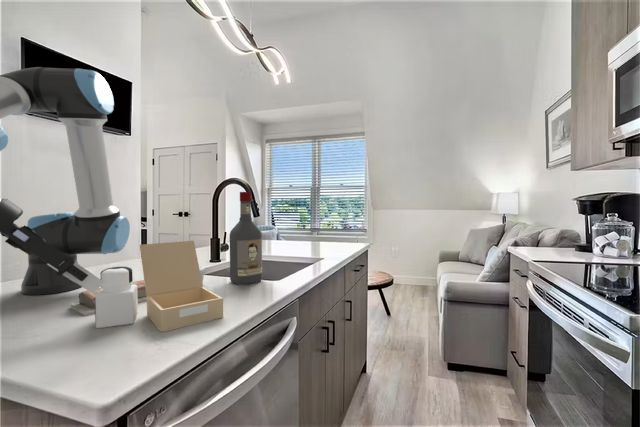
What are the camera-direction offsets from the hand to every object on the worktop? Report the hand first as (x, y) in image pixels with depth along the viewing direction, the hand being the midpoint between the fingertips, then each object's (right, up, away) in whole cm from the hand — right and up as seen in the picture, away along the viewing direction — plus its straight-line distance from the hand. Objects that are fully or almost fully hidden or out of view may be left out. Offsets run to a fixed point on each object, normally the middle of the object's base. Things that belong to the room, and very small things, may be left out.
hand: (88, 282), depth 68 cm
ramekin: (+5, -9, +37) cm, 38 cm away
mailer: (+15, -10, +11) cm, 20 cm away
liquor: (+24, -9, +41) cm, 48 cm away
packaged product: (-6, -10, +19) cm, 22 cm away
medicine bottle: (+3, -10, +5) cm, 12 cm away
